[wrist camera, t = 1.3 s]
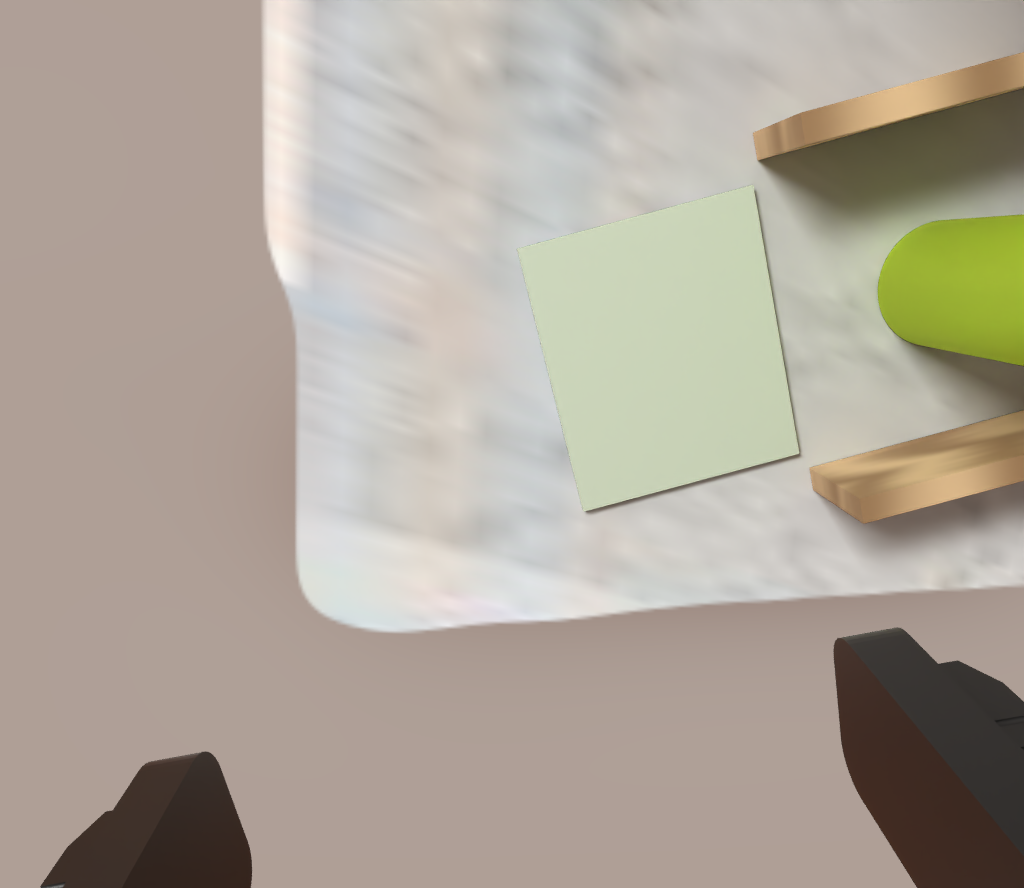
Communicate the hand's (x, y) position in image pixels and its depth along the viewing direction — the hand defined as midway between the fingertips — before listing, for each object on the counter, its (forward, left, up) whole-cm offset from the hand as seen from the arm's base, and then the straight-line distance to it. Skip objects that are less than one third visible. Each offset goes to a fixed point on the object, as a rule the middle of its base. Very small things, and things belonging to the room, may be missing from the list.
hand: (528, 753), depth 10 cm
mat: (-4, +8, -27) cm, 29 cm away
